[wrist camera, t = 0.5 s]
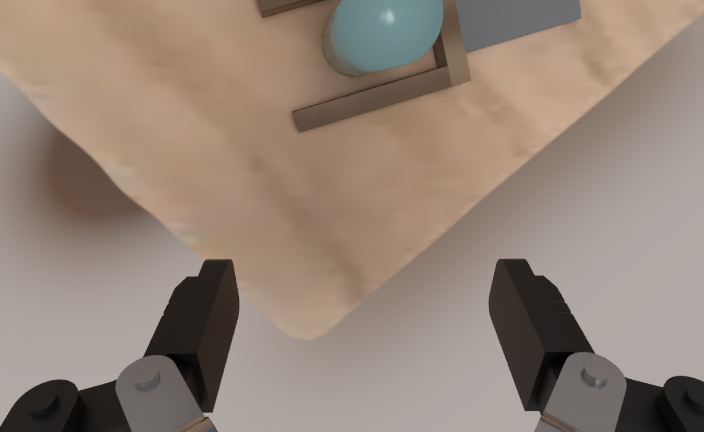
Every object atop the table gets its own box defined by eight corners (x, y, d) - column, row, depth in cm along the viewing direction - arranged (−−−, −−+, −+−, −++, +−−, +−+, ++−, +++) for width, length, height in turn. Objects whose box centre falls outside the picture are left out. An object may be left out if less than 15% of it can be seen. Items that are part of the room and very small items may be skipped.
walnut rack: (255, -4, 33) (253, -12, 31) (431, -54, 34) (442, -65, 32) (298, 130, 36) (298, 132, 34) (459, 81, 37) (470, 80, 34)
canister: (313, 19, 34) (331, -28, 21) (375, 2, 34) (430, -57, 21) (332, 84, 36) (359, 78, 22) (390, 66, 36) (452, 50, 22)
